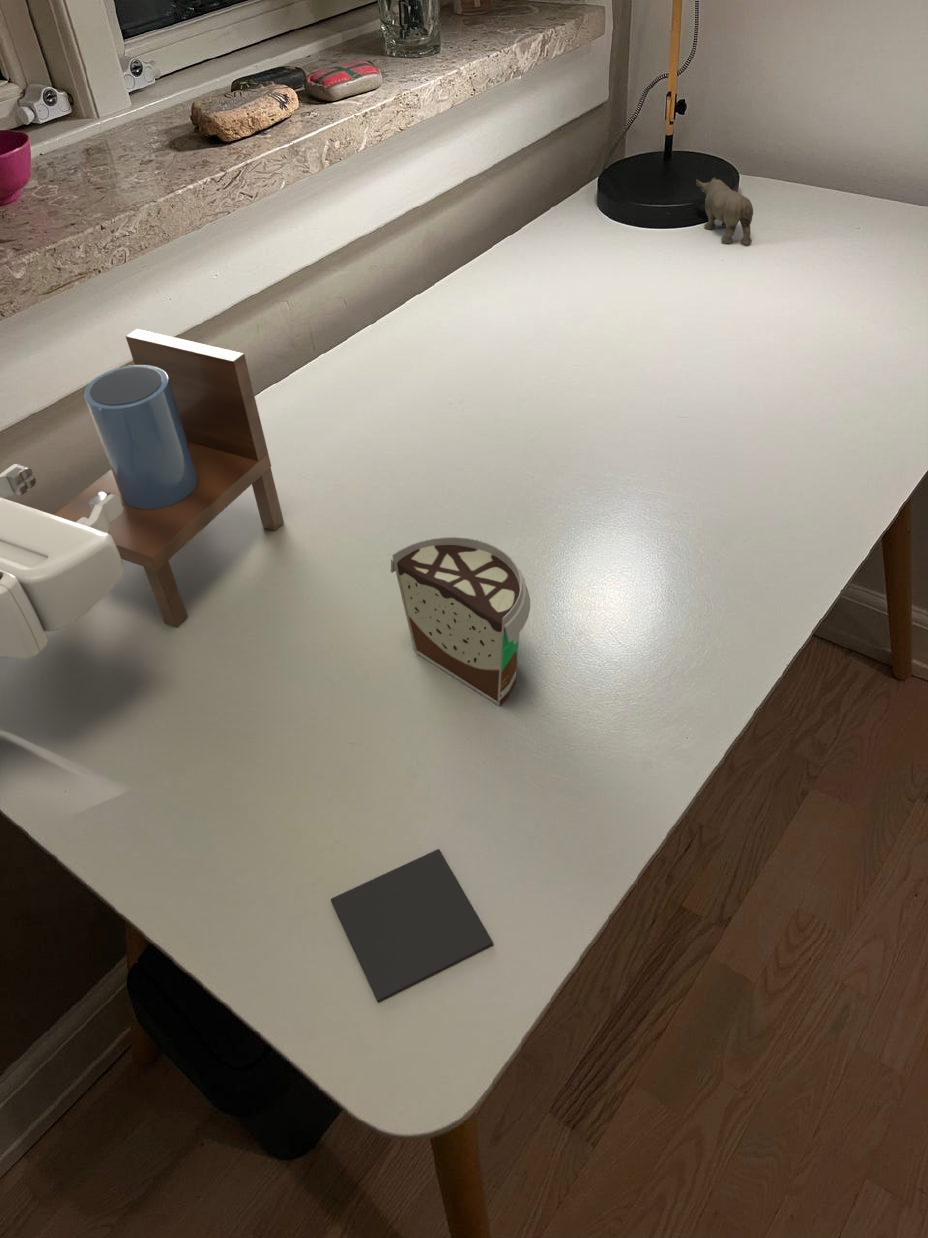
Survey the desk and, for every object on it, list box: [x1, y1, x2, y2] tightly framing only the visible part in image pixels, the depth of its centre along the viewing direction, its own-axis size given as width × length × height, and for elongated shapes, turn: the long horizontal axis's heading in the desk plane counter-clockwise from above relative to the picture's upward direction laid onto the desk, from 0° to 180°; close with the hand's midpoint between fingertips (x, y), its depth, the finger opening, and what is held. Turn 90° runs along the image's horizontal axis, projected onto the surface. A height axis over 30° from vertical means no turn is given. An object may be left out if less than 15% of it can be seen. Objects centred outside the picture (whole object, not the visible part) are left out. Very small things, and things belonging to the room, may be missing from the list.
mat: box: [330, 848, 494, 1003], centre depth 67 cm, size 8×8×1 cm
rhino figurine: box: [695, 177, 754, 246], centre depth 137 cm, size 4×14×6 cm, turn 18°
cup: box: [83, 364, 198, 509], centre depth 87 cm, size 7×7×10 cm
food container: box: [390, 536, 531, 707], centre depth 80 cm, size 12×6×10 cm, turn 47°
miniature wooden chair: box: [53, 328, 285, 628], centre depth 90 cm, size 16×12×18 cm
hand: (69, 485), depth 82 cm, fingers open, 8 cm apart
